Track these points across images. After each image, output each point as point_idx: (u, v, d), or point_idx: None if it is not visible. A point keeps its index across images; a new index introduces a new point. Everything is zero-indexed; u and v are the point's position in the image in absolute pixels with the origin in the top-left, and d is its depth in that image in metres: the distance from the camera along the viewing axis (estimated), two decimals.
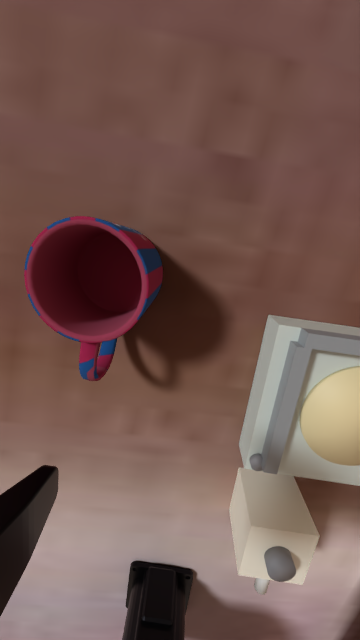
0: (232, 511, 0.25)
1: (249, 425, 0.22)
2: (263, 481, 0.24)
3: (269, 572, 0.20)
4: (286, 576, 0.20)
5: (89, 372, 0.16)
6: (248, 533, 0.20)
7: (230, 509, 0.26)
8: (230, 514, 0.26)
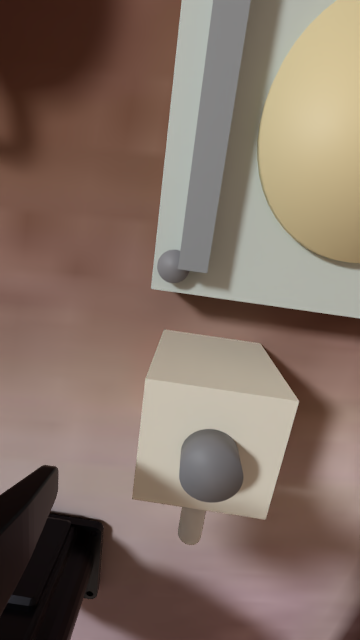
0: None
1: None
2: (202, 342, 0.13)
3: (183, 480, 0.09)
4: (222, 489, 0.09)
5: None
6: (143, 399, 0.09)
7: None
8: None
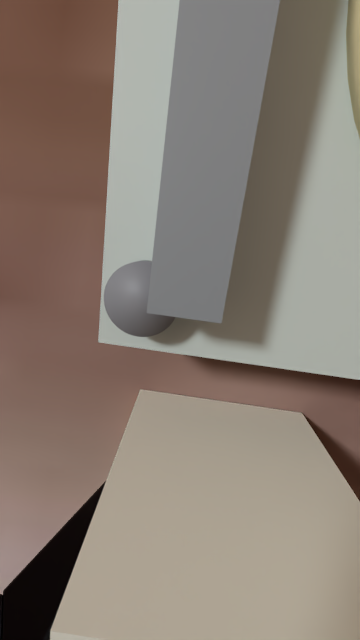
0: None
1: None
2: (205, 424, 0.07)
3: None
4: None
5: None
6: None
7: None
8: None
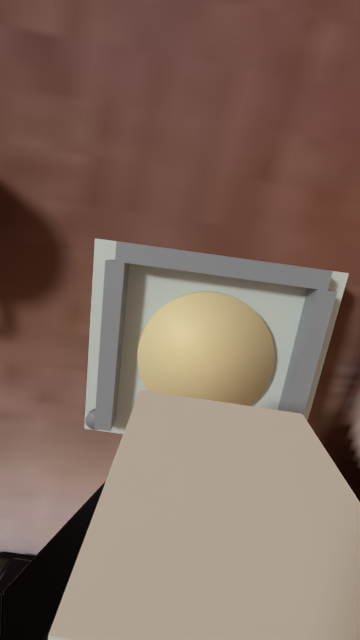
0: None
1: None
2: (204, 425, 0.07)
3: None
4: None
5: None
6: None
7: None
8: None
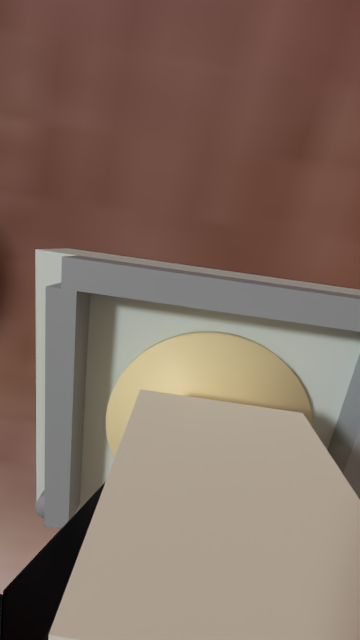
0: None
1: None
2: (205, 424, 0.07)
3: None
4: None
5: None
6: None
7: None
8: None
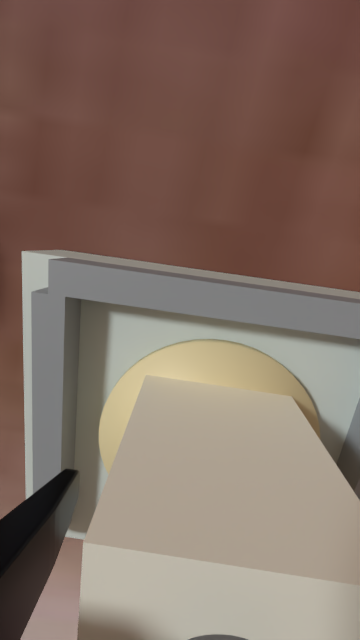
0: None
1: None
2: (204, 403, 0.08)
3: None
4: None
5: None
6: (82, 578, 0.04)
7: None
8: None
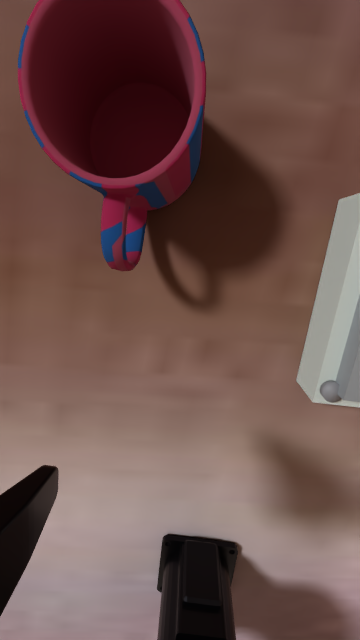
0: None
1: (316, 347, 0.17)
2: None
3: None
4: None
5: (115, 245, 0.12)
6: None
7: None
8: None
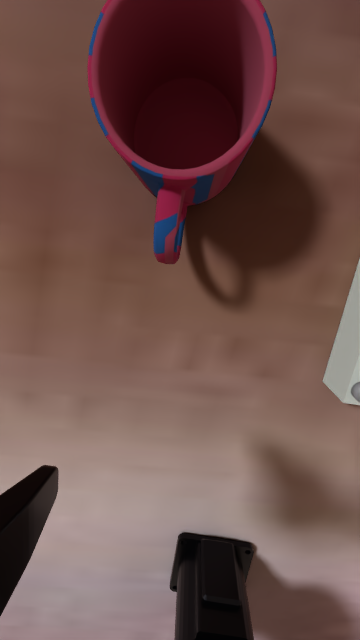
0: None
1: (347, 348, 0.17)
2: None
3: None
4: None
5: (169, 236, 0.12)
6: None
7: None
8: None
